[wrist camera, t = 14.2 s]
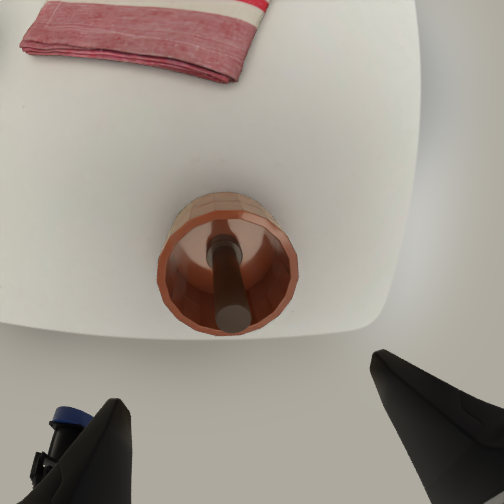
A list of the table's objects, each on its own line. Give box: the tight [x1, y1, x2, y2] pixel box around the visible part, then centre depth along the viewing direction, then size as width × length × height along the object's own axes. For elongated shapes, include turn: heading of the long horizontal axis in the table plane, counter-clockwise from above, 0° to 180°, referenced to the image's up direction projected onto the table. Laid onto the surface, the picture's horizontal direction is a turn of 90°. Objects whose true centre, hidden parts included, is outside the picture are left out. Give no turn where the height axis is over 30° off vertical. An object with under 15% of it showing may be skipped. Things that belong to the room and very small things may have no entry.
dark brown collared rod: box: [206, 234, 251, 333], centre depth 16 cm, size 2×2×8 cm
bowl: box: [157, 192, 299, 336], centre depth 18 cm, size 8×8×5 cm
